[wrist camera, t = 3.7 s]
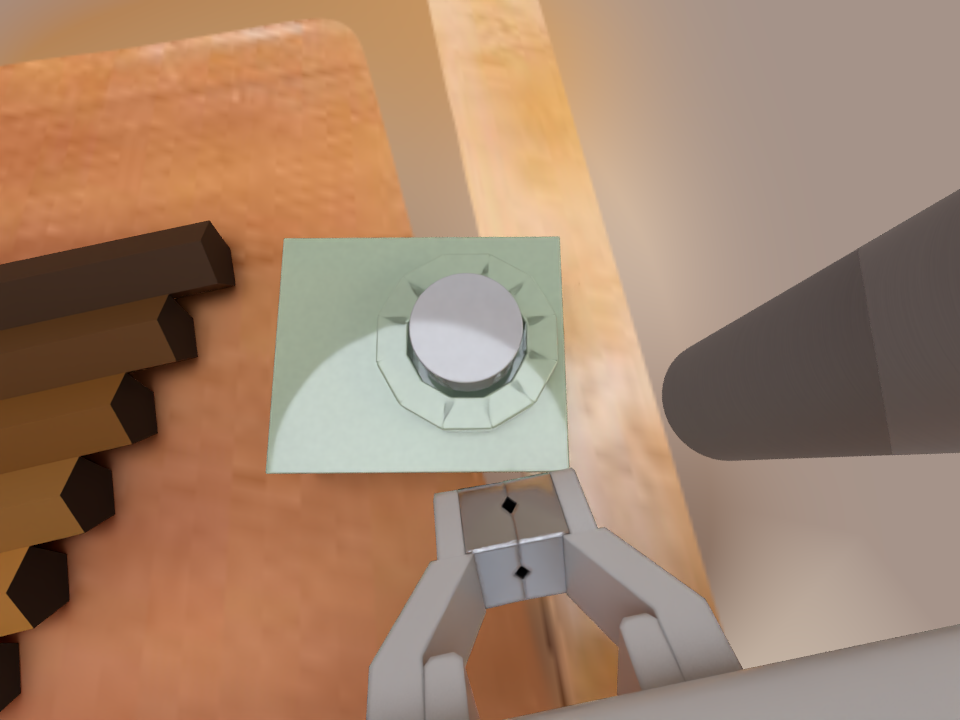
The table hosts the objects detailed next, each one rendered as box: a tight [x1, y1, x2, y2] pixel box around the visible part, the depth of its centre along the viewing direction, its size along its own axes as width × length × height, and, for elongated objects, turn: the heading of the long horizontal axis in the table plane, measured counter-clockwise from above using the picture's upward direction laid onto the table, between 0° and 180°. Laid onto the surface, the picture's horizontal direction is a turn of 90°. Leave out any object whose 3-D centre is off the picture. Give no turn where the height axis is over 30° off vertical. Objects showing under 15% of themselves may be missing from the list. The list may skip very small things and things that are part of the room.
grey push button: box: [409, 273, 523, 392], centre depth 19 cm, size 4×4×2 cm
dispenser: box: [266, 237, 569, 474], centre depth 24 cm, size 12×10×8 cm
